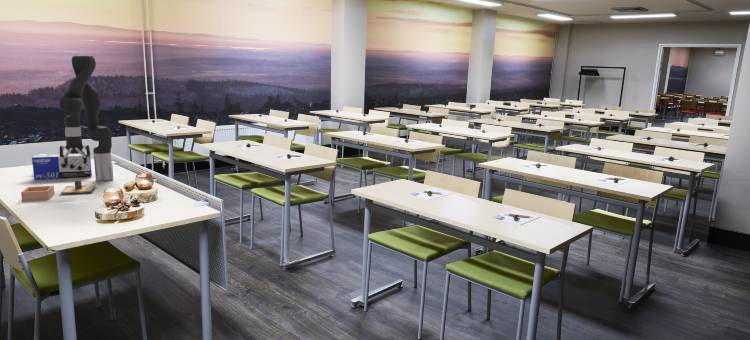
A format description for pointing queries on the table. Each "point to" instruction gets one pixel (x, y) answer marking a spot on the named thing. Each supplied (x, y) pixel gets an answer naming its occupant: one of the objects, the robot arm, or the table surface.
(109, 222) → the table surface
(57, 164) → the ink box
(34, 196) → the dish
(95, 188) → the mat
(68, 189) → the lid
